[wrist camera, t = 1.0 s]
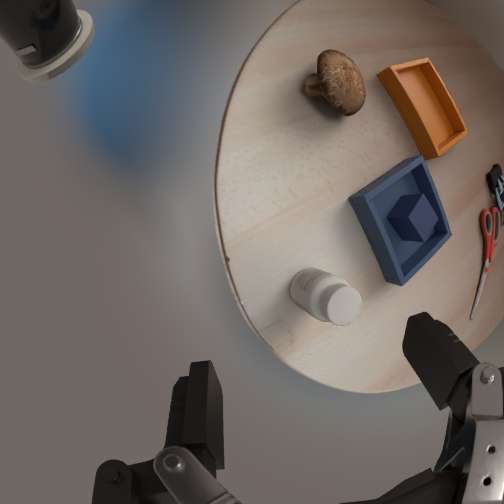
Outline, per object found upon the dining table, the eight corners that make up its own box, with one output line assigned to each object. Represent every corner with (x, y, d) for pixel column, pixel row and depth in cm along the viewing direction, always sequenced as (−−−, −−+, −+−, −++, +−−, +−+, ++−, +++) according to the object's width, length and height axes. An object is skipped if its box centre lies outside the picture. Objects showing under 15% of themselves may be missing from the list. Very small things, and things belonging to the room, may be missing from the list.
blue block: (385, 217, 30) (408, 217, 26) (401, 195, 31) (423, 192, 27) (402, 240, 31) (424, 242, 27) (416, 218, 31) (438, 218, 28)
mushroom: (285, 82, 24) (342, 61, 19) (297, 52, 27) (343, 34, 22) (324, 135, 29) (375, 123, 25) (329, 98, 32) (372, 86, 28)
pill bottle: (325, 305, 30) (364, 327, 23) (289, 309, 29) (320, 335, 22) (327, 266, 30) (368, 278, 22) (289, 268, 29) (323, 282, 21)
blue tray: (347, 198, 30) (363, 195, 27) (406, 158, 31) (422, 154, 28) (386, 281, 32) (402, 286, 29) (436, 234, 33) (452, 235, 30)
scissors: (468, 320, 38) (474, 322, 36) (478, 203, 36) (485, 203, 34) (486, 314, 39) (491, 315, 38) (495, 208, 37) (500, 208, 36)
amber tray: (376, 74, 29) (389, 66, 26) (416, 64, 31) (428, 57, 28) (423, 160, 32) (439, 157, 29) (455, 136, 33) (469, 133, 30)
